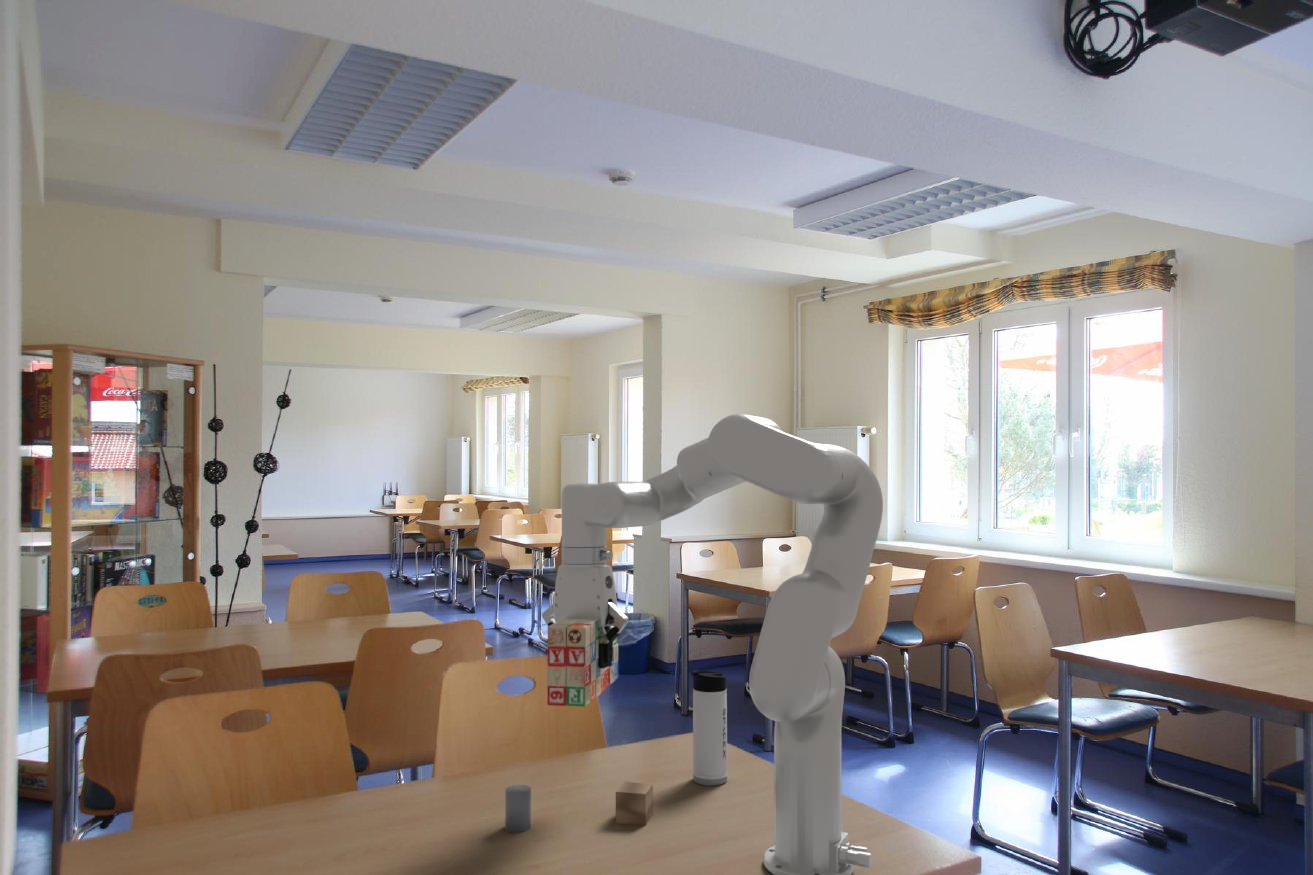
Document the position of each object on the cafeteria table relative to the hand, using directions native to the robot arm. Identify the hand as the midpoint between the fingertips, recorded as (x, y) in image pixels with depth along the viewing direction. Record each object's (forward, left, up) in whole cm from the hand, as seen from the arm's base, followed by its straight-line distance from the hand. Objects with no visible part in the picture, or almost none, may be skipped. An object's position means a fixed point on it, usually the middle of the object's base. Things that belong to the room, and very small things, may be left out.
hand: (584, 664), depth 148 cm
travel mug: (-11, -26, -25) cm, 38 cm away
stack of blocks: (0, -1, -5) cm, 5 cm away
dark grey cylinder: (+7, +9, -25) cm, 27 cm away
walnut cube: (-8, -3, -25) cm, 26 cm away
